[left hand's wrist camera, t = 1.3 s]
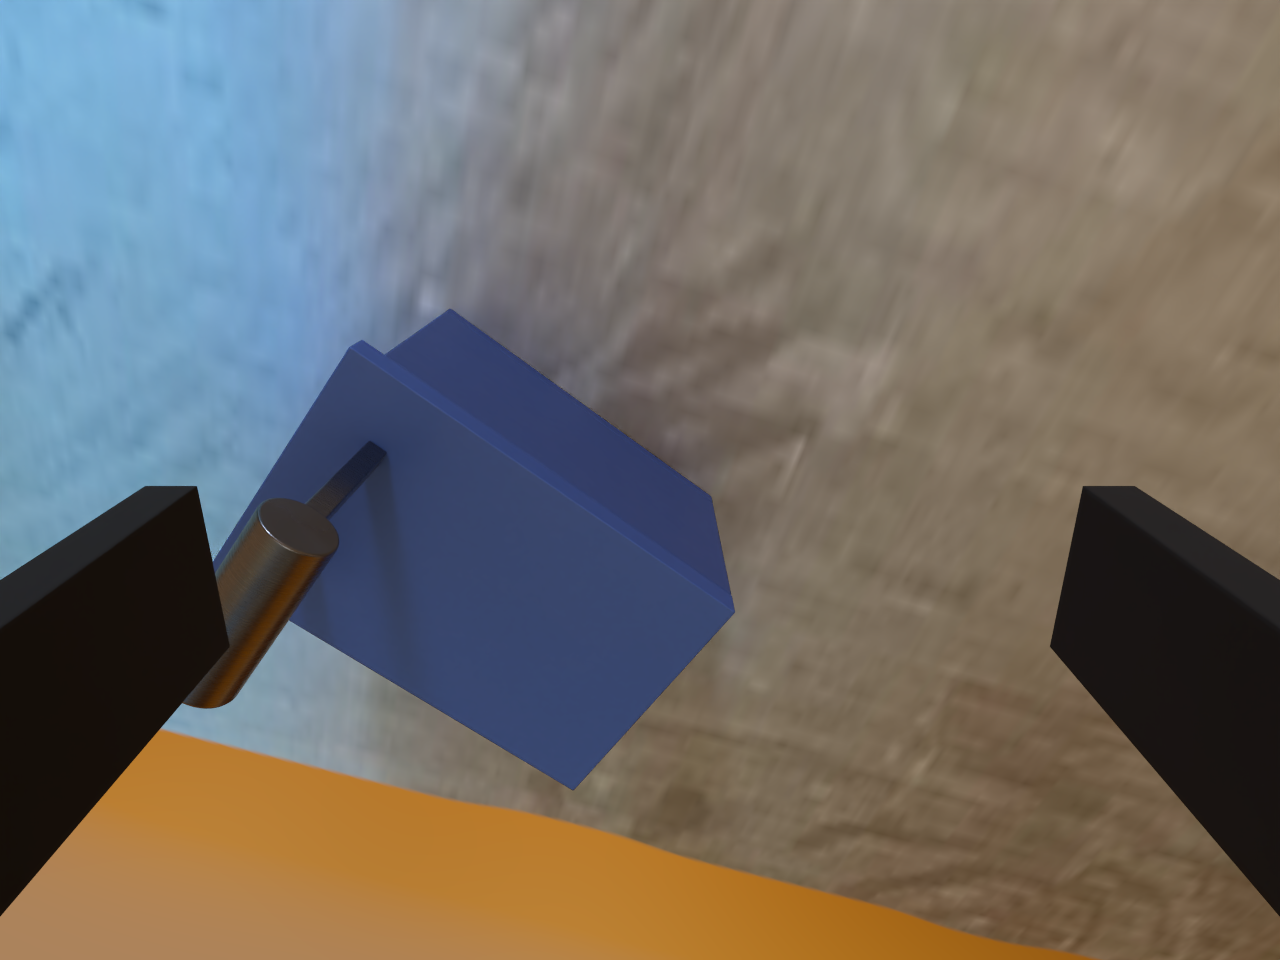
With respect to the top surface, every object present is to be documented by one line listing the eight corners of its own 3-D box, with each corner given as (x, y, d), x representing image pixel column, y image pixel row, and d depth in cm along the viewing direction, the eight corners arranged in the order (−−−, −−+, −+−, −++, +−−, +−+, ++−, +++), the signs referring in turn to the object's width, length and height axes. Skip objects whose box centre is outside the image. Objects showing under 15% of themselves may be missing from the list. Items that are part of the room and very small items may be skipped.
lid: (223, 556, 30) (55, 709, 22) (361, 338, 27) (232, 415, 19) (575, 770, 33) (551, 977, 25) (732, 595, 31) (766, 760, 22)
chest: (338, 475, 40) (244, 568, 30) (450, 308, 37) (384, 353, 28) (590, 639, 43) (575, 769, 33) (712, 496, 40) (732, 594, 31)
